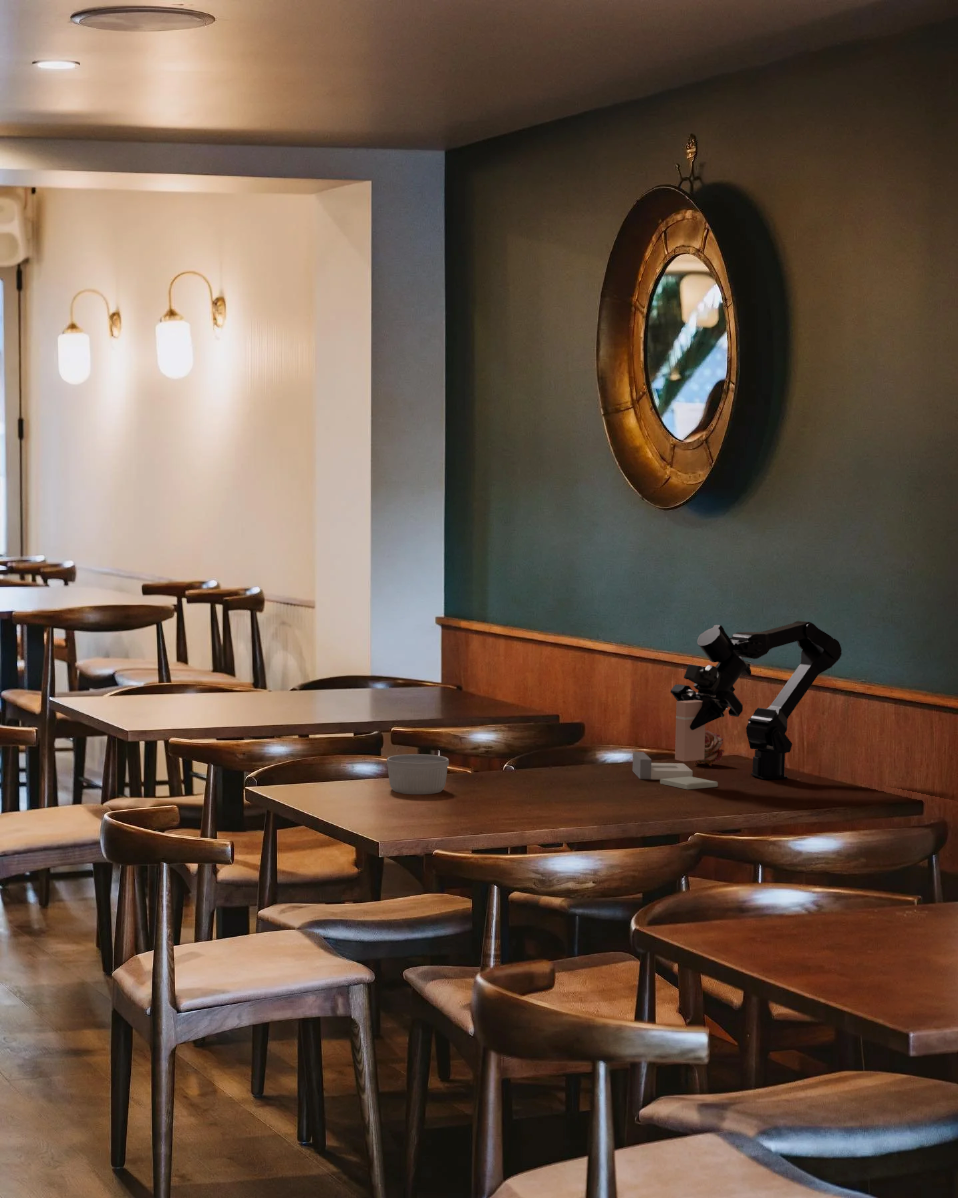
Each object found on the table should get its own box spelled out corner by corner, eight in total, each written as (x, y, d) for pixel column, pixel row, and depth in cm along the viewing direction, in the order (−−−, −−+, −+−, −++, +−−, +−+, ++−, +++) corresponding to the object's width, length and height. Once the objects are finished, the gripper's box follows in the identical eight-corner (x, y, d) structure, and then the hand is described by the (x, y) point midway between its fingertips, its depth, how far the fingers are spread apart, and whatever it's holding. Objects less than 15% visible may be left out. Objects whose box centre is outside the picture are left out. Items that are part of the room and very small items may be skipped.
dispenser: (683, 772, 381) (683, 752, 381) (692, 780, 369) (692, 760, 369) (632, 771, 380) (633, 752, 380) (639, 779, 369) (640, 759, 368)
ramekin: (390, 796, 338) (391, 763, 337) (381, 786, 351) (382, 754, 350) (453, 795, 340) (454, 762, 340) (441, 785, 353) (442, 753, 353)
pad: (690, 780, 368) (690, 776, 368) (717, 786, 360) (717, 782, 360) (660, 783, 363) (660, 779, 363) (687, 789, 355) (687, 785, 355)
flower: (681, 753, 400) (681, 730, 395) (717, 746, 401) (717, 722, 396) (693, 780, 393) (693, 756, 388) (729, 773, 393) (730, 749, 389)
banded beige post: (695, 757, 364) (696, 700, 364) (704, 759, 362) (706, 701, 361) (674, 759, 361) (676, 701, 360) (683, 761, 358) (685, 703, 358)
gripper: (677, 649, 370) (639, 699, 364) (734, 655, 355) (695, 708, 349) (702, 682, 375) (665, 732, 369) (759, 689, 360) (721, 742, 354)
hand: (685, 727), depth 360 cm, fingers closed on banded beige post, 3 cm apart
